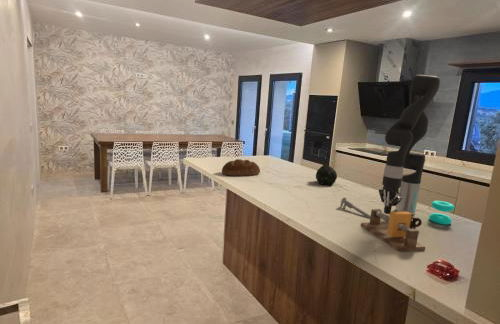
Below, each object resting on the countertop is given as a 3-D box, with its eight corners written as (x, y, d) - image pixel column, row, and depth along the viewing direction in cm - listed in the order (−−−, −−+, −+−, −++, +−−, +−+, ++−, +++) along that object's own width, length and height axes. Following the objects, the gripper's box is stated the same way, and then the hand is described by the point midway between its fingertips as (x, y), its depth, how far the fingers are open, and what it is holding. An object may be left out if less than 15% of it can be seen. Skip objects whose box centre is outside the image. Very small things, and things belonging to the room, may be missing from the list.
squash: (338, 175, 230) (326, 158, 228) (342, 180, 215) (329, 163, 213) (322, 186, 233) (310, 170, 231) (325, 192, 218) (312, 175, 216)
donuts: (459, 207, 154) (437, 205, 155) (455, 226, 156) (433, 224, 157) (448, 201, 164) (428, 199, 165) (445, 219, 166) (425, 217, 167)
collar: (386, 234, 133) (390, 211, 131) (402, 233, 135) (406, 211, 133) (391, 237, 130) (395, 214, 128) (407, 236, 132) (411, 213, 130)
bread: (219, 172, 236) (219, 157, 234) (254, 171, 248) (255, 157, 246) (225, 177, 222) (226, 161, 220) (263, 176, 234) (264, 161, 232)
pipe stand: (361, 225, 148) (363, 208, 146) (383, 224, 151) (385, 208, 149) (399, 251, 123) (402, 231, 122) (424, 250, 126) (428, 230, 125)
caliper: (340, 207, 174) (341, 196, 173) (341, 207, 174) (342, 196, 173) (372, 220, 157) (374, 208, 156) (374, 219, 158) (375, 207, 157)
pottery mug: (392, 229, 148) (392, 211, 151) (397, 232, 155) (396, 216, 158) (420, 229, 141) (420, 211, 144) (424, 233, 148) (423, 216, 151)
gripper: (411, 179, 131) (404, 218, 135) (390, 172, 144) (384, 208, 147) (396, 179, 129) (389, 219, 133) (375, 172, 142) (370, 208, 145)
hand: (386, 213), depth 140 cm, fingers closed
